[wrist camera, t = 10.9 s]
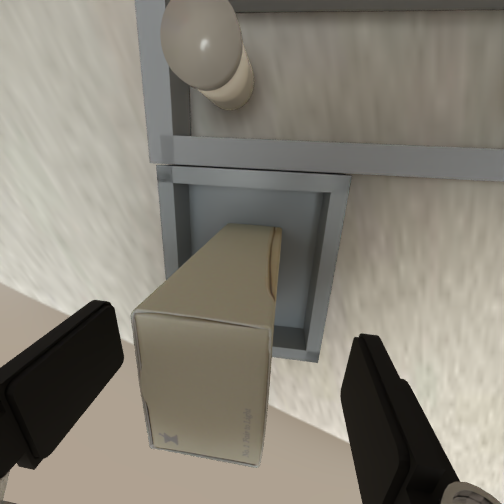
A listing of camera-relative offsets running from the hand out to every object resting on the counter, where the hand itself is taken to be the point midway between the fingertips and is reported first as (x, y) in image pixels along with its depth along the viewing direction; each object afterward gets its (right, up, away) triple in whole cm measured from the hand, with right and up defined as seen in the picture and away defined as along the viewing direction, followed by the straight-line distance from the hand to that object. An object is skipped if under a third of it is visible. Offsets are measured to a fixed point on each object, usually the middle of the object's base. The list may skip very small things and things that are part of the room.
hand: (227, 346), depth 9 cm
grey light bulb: (-1, +15, +6) cm, 16 cm away
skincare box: (+1, +3, +10) cm, 10 cm away
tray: (+1, +3, +10) cm, 11 cm away
